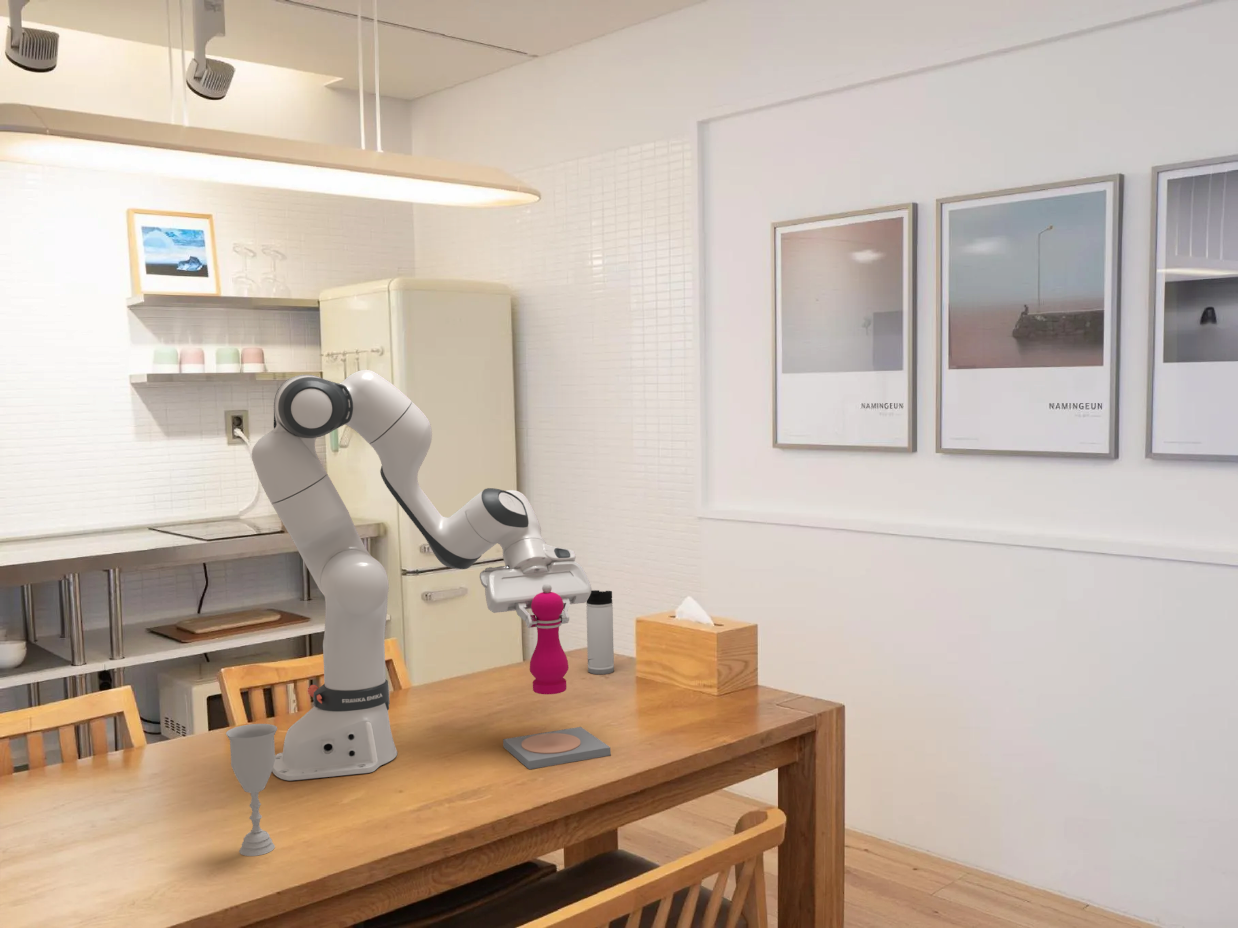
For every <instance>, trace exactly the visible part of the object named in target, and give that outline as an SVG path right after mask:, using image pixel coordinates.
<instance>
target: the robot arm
mask: <svg viewBox="0 0 1238 928" xmlns="http://www.w3.org/2000/svg"><path fill="white" fill-rule="evenodd" d="M273 400H274V402H273V429H272V430H271V431H269V432H268V433H266V434H264V435H263V436H262V437H260V438H259V439H258V441H256V443H255V444H254V446H253V447H252V450H251V460H252V464H253V466H254V469H255V472H256V475H257V477H258V479H259V482H260V485H261V486H262V489H263V490H264V493H265V495H266V496H267V498H268V499H269V500H268V501H269V502H270V504H271V506H272V507H273V509H274V510H275V512H276V514H277V516H278V517H279V520H280V521H281V522H282V524H283V526H284V528H285V530H286V531H287V533H288V535H289V536H290V538H291V541H293V543H294V545H295V547H296V549H297V551H298V553H299V554H300V556H301V559H302V561H303V562H304V564H305V566H306V568H307V569H308V571H309V573H310V575H311V577H312V579H313V581H314V582H315V584H316V585H317V588H318V589H319V591H320V592H321V593H322V595H323V596H324V600H325V611H324V612H325V615H324V616H325V617H324V618H325V619H324V634H323V640H322V650H323V651H322V652H323V653H322V654H323V658H322V659H323V676H324V677H323V678H324V679H323V680H324V683H323V684H322V685H320V687H318V685H317V684H311V685H309V687H307V694H308V695H309V696H310V697H311V698H313V707H312V708H310V710H308V711H307V712H306V713H305V714H304V715H303V716H302V717H300V718H299V719H298V720H297V721H296V722H294V723H293V724H292V725H291V726H290V727H289V728H288V730H287V732H286V733H285V736H284V741H283V748H282V749H283V750H282V752H279V753H277V754H275V762H274V765H273V769H272V772H271V773H273V775H274V776H276V777H277V778H278V779H281V780H284V781H301V780H311V779H319V778H328V777H329V778H331V777H339V776H351V775H359V774H361V775H362V774H369V773H372V772H374V771H376V770H377V769H378V768H379V767H381V766H382V765H385V764H388V763H389V762H391V761H393V760H394V759H395V758H397V756H398V750H397V748H396V744H395V742H394V738H393V737H394V736H393V734H392V729H391V723H390V717H389V710H390V686H389V681H388V679H387V678H386V659H385V658H386V655H385V652H386V648H385V638H386V636H385V635H386V634H385V633H386V632H385V631H386V623H387V613H388V599H389V597H388V595H389V588H390V587H389V577H388V574H387V571H386V568H385V567H384V566H383V564H382V563H381V562H380V561H379V560H378V559H376V558H374V557H373V556H372V555H371V554H370V552H369V551H368V550H367V548H366V546H365V544H364V543H363V540H362V538H361V536H360V534H359V532H358V530H357V528H356V526H355V524H354V522H353V520H352V517H351V514H350V512H349V510H348V507H346V505H345V503H344V501H343V499H342V497H341V496H340V494H339V492H338V491H337V488H336V487H335V485H334V482H333V481H332V480H331V478H330V475H329V474H328V473H327V471H326V469H325V467H324V466H323V464H322V462H321V460H320V459H319V456H318V453H317V451H316V442H317V441H316V439H317V438H320V437H324V436H326V435H328V434H330V433H332V432H334V431H335V430H337V429H339V428H342V427H343V426H347V427H349V428H351V429H353V431H355V432H356V433H357V434H358V435H359V436H361V437H362V438H363V440H365V441H366V443H368V444H369V445H370V446H371V448H373V450H374V452H375V453H376V454H377V455H378V458H379V460H380V464H381V467H380V470H379V472H380V476H381V479H382V480H383V483H384V485H385V486H386V488H387V489H388V491H389V492H390V494H391V495H392V497H393V498H394V499H395V500H396V502H397V503H398V505H399V506H400V507H401V508H402V510H403V511H404V513H406V515H407V516H408V518H409V519H410V520H411V522H412V523H413V524H414V526H415V527H416V528H417V529H418V530H419V532H420V533H421V535H422V536H423V537H424V539H425V540H426V542H427V543H428V546H429V547H430V549H431V551H432V553H433V555H434V556H435V558H436V559H437V560H438V561H439V562H440V563H441V564H442V565H444V566H445V567H447V568H450V569H455V570H468V569H470V568H471V566H473V565H474V564H475V563H476V562H477V561H478V560H479V559H481V557H482V556H483V555H484V554H485V553H486V552H488V551H489V550H490V549H491V548H493V547H494V546H495V545H497V544H498V545H499V546H500V547H501V549H502V558H503V562H504V565H500V566H495V567H491V566H489V567H486V568H484V569H483V570H482V571H481V572H480V573H479V581H480V583H481V585H482V587H483V588H484V592H485V593H484V594H485V595H484V596H485V601H486V606H487V609H488V610H489V611H490V612H491V613H494V614H496V613H505V612H514V611H515V612H516V615H517V616H518V617H520V619H522V621H525V624H526V627H527V629H530V628H537V627H536V625H537V620H536V619H535V618H536V616H535V615H534V614H531V613H529V612H528V610H531V603H532V600H533V598H534V597H535V596H536V595H537V594H539V593H542V592H543V590H542V587H543V585H544V584H550V585H551V587H552V590H551V592H554V593H556V594H558V595H559V596H560V597H561V598H562V600H563V605H564V609H563V611H562V613H561V614H560V616H559V617H560V618H561V625H563V624H568V623H569V621H570V615H569V613H568V610H569V607H570V605H577V604H586V602H587V600H588V598H589V596H590V594H591V590H593V589H592V584H591V583H590V579H589V577H588V575H587V573H586V572H585V570H584V567H582V565H581V564H580V563H579V562H577V561H576V555H577V554H576V553H575V551H574V550H573V549H569V548H563V547H559V546H554V545H551V544H547V542H546V540H545V538H544V537H543V536H542V528H541V525H540V522H539V519H538V516H537V514H536V512H535V510H534V508H533V506H532V504H531V503H530V500H529V499H528V497H527V496H525V494H523V492H520V491H518V490H515V489H508V490H503V489H499V488H495V487H494V488H490V487H487V488H484V489H483V490H481V491H480V492H478V493H477V494H476V495H475V496H473V497H472V498H471V499H470V500H468V501H467V502H466V503H465V504H464V505H463V506H461V507H460V508H459V509H458V510H456V511H455V512H454V513H453V514H452V515H450V516H444V515H442V514H441V513H440V511H438V509H437V508H436V506H435V505H434V503H432V500H430V498H429V497H428V496H427V494H426V493H425V492H424V490H423V489H422V487H421V486H420V483H419V480H418V477H419V476H418V475H419V471H420V468H421V466H422V464H423V463H424V460H425V458H426V457H427V454H428V452H429V450H430V448H431V444H432V440H433V439H432V438H433V430H432V426H431V425H432V424H431V422H430V419H428V417H427V416H426V415H425V413H424V412H423V411H422V410H421V408H419V407H418V405H416V403H414V402H413V401H412V400H411V398H409V397H408V395H406V394H405V393H403V392H402V391H401V390H400V389H399V388H398V387H397V386H395V385H394V384H393V383H392V382H390V380H389V381H388V380H387V379H386V378H384V377H383V376H382V375H380V374H379V373H377V372H376V371H374V370H371V369H361V370H358V371H355V372H353V373H352V374H350V375H348V376H347V377H346V378H345V379H344V380H342V381H341V382H340V383H339V382H334V381H331V380H327V379H324V378H322V377H319V376H317V375H312V374H299V375H296V376H293V377H291V378H288V379H287V380H285V381H284V382H283V383H281V384H280V385H279V388H278V389H277V390H276V394H275V397H274V399H273Z"/></svg>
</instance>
